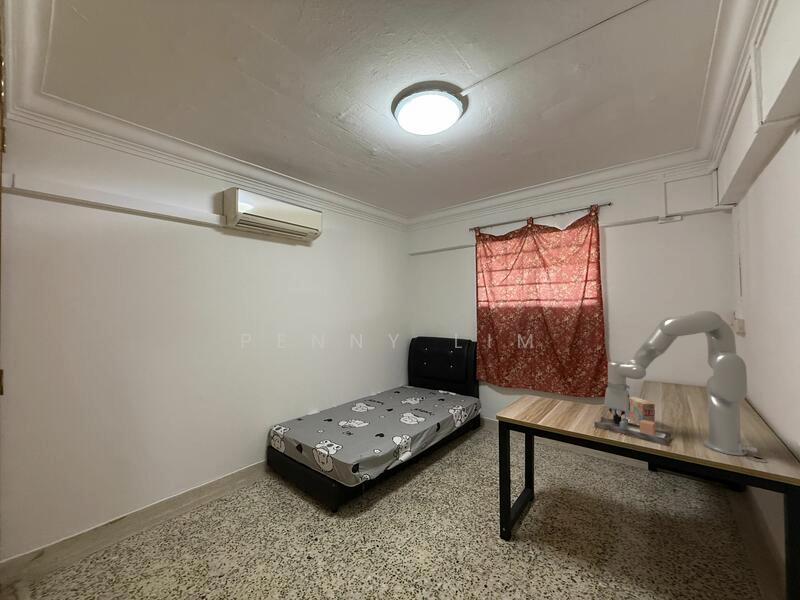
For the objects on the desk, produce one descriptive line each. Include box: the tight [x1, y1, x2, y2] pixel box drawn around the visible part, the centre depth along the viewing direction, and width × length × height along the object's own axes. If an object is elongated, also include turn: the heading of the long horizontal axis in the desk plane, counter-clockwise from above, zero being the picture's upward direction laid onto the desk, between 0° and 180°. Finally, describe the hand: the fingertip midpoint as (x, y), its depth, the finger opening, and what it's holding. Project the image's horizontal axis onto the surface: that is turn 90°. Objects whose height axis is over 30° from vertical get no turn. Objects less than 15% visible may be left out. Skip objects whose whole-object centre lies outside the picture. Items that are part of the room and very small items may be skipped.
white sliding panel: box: [620, 418, 666, 438], centre depth 147 cm, size 16×9×4 cm, turn 42°
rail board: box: [594, 416, 672, 447], centre depth 150 cm, size 28×12×3 cm, turn 42°
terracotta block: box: [640, 420, 656, 435], centre depth 145 cm, size 5×5×5 cm
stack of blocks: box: [616, 396, 656, 425], centre depth 168 cm, size 21×6×12 cm, turn 4°
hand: (617, 423), depth 154 cm, fingers closed
